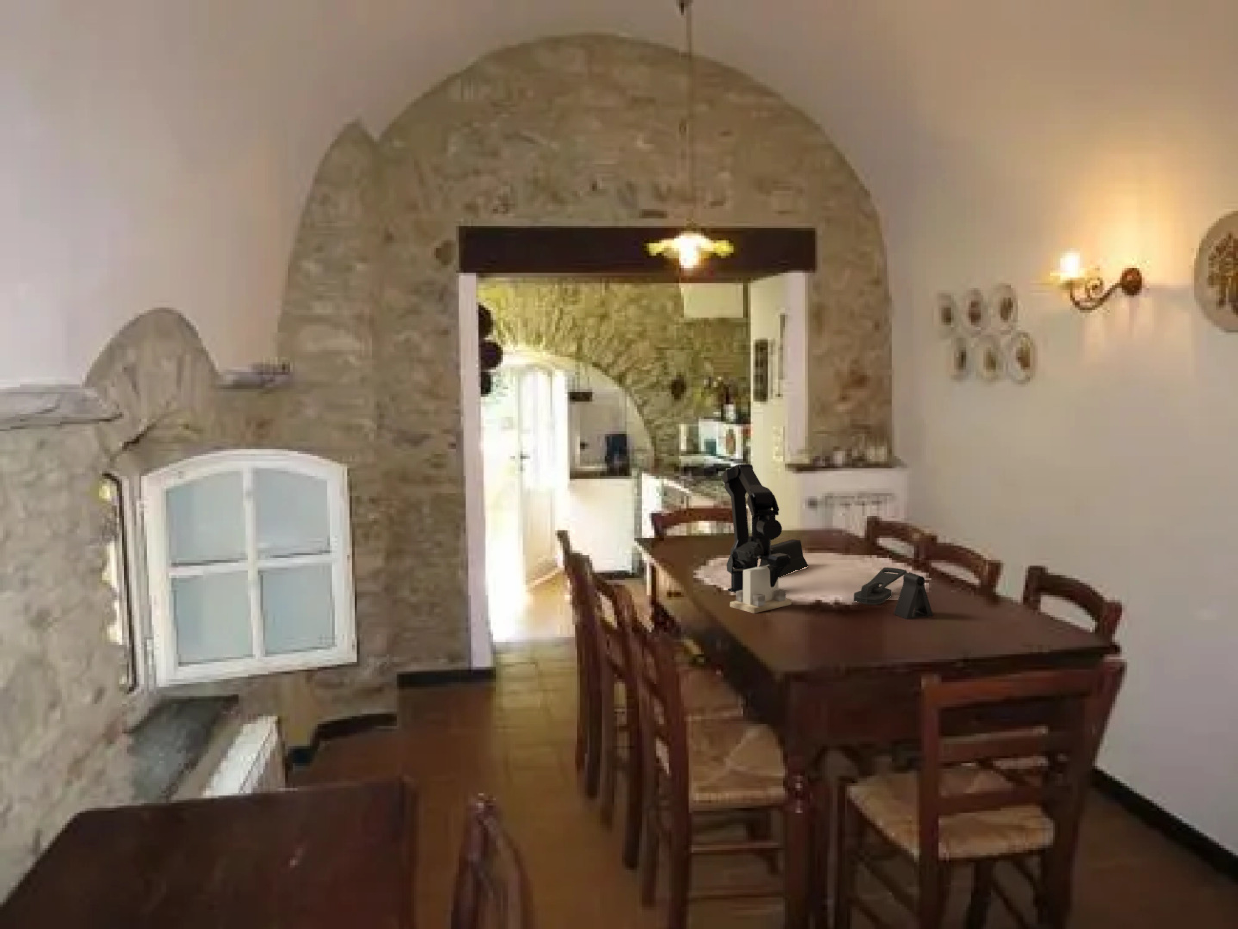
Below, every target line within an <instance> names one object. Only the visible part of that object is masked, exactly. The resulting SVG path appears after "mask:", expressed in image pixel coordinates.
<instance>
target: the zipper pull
mask: <svg viewBox="0 0 1238 929" xmlns="http://www.w3.org/2000/svg"><path fill="white" fill-rule="evenodd" d="M906 572H907V573H908V571H907V569H904V568H897V567H888V566H887V567H883V568H882V569H881V570H880V571H878V573H877V574H876V575H875V576H874V577H873V578H872V579H871V580H870V581H868V582H866V583H864V584H863V585H862V586H861V589H860V590H859V591H856V592H854V593H853V602H854V601H857V602H859V603H858V604H861V603H863V605H870V606H871V605H873V606H877V604H878V605H882V604H884V603H885V602H886V601H888V600H889V599H890V598H891V597H892V589H890V588H888V586H890V585H891V584H892V583H894V582H896V581H897V580H899V579H900V578H902V577H903V576H904V574H905V573H906ZM890 596H891V597H890ZM889 597H890V598H889ZM888 598H889V599H888ZM887 599H888V600H887ZM884 601H885V602H884ZM857 602H856V603H857ZM883 602H884V603H883ZM881 603H882V604H881Z"/></svg>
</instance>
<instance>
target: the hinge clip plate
mask: <svg viewBox="0 0 1238 929" xmlns="http://www.w3.org/2000/svg"><path fill="white" fill-rule="evenodd" d="M791 605H792V599H791V598H787V591H786V590H785V589H778V590H776V591H774V600H769V601H765V595H762V594H758V595H753V604H752V605H749V604H745V603H743V590H740V591H736V592H735V600H734V601H733V600H732V601H730V602H729V607H730V608H732V609H733V608H734V609H737V610H740V611H745V612H748V613H752V614H758V613H762V612H765V611H770V610H773V609H774V610H775V609H777V608H782V607H787V606H791Z"/></svg>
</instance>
